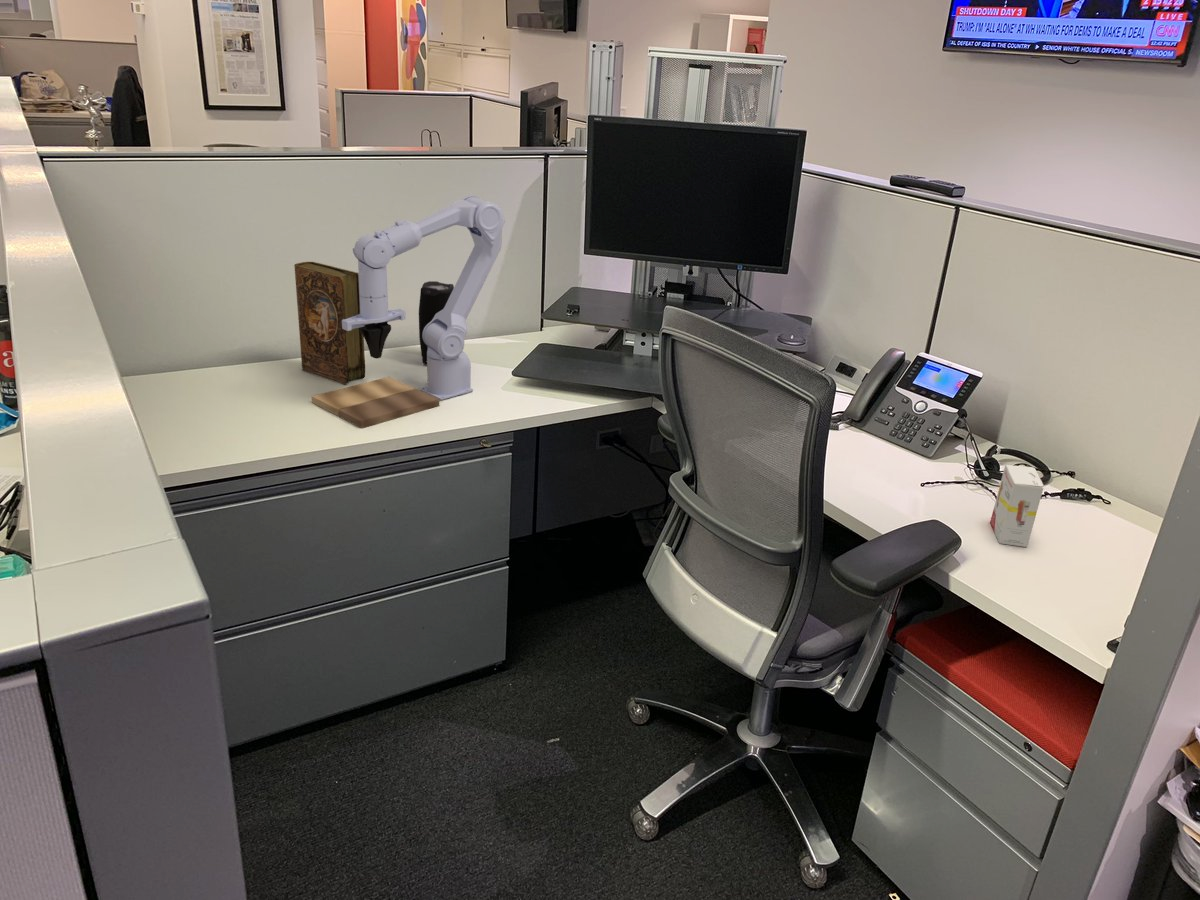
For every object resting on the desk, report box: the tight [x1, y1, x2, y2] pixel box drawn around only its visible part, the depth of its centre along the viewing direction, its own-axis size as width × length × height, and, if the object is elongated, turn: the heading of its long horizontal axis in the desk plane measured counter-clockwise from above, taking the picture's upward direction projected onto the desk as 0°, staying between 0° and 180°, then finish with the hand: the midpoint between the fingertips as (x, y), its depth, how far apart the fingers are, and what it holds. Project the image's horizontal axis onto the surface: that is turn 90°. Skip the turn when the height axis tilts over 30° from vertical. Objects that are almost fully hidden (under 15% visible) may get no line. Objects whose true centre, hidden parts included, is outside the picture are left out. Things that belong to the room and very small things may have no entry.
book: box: [293, 261, 366, 385], centre depth 208 cm, size 16×6×25 cm, turn 58°
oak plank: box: [311, 376, 417, 417], centre depth 200 cm, size 20×10×2 cm, turn 138°
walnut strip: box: [338, 388, 440, 429], centre depth 194 cm, size 20×8×2 cm, turn 138°
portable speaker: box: [418, 280, 455, 364], centre depth 221 cm, size 9×9×20 cm
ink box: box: [989, 464, 1044, 548], centre depth 158 cm, size 9×5×12 cm, turn 168°
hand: (375, 357), depth 195 cm, fingers closed
